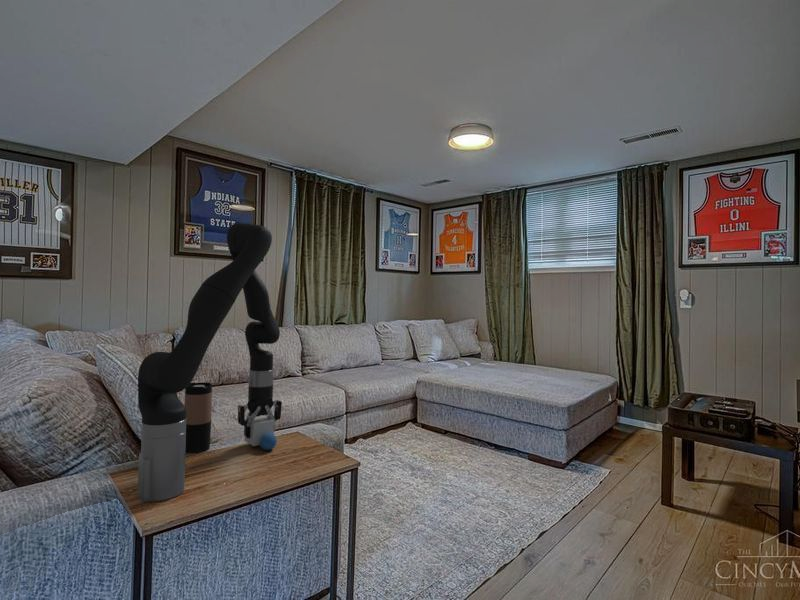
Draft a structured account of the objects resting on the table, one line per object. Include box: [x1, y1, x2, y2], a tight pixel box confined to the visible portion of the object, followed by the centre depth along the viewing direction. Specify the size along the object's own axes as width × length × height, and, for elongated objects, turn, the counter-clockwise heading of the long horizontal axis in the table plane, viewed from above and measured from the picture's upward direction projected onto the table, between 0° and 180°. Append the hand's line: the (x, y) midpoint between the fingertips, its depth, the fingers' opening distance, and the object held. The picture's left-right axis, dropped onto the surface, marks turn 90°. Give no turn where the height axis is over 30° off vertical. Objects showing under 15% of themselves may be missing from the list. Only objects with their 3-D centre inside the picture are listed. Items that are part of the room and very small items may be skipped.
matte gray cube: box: [244, 415, 275, 447], centre depth 135 cm, size 7×7×7 cm
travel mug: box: [184, 382, 213, 454], centre depth 130 cm, size 8×8×20 cm
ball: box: [259, 433, 278, 451], centre depth 131 cm, size 5×5×5 cm
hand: (259, 435), depth 135 cm, fingers closed on matte gray cube, 7 cm apart
